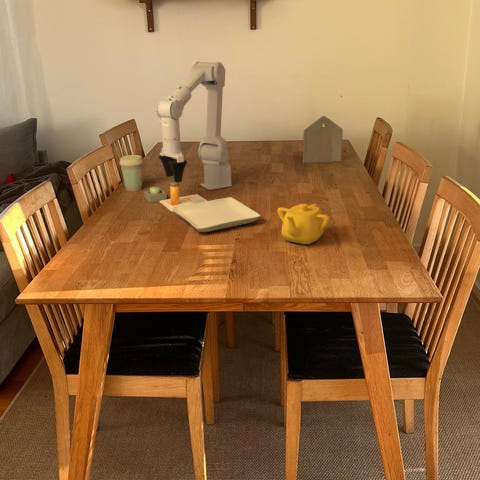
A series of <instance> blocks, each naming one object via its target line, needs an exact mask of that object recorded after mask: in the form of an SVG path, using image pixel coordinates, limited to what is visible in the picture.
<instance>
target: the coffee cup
mask: <svg viewBox="0 0 480 480" xmlns="http://www.w3.org/2000/svg"><path fill="white" fill-rule="evenodd" d="M143 164H144V160H143V157H142V156H141V155H138V154H128V155H123V156H121V157H120V159H119V165H120V169H121V174H122V178H123V183H124V187H125V191H126V192H132V193H133V192H140V191H142V189H143Z"/></svg>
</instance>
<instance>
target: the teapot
mask: <svg viewBox="0 0 480 480" xmlns="http://www.w3.org/2000/svg"><path fill="white" fill-rule="evenodd" d="M284 212H285V214H284ZM277 215H278V217H279V218H280V220H281V221H282V225H281V236H282V238H283V240H285V241H287V242H293V243H296V244H302V245H305V244H309V245H310V244H312V243H314V242H316V241H318V240H319V239H320V238H321V237H322V235H323V233H324V231H325V228H326V227H327V226H328V225H329V223H330V220H331V217H330V216H329V215H327V214H322V210H321V209H320V207H319V206H318V204H316V203H312V204H310V205H308V204H307V203H299V204H297V205H294V206H292V207H291V208H288V207H278V208H277Z"/></svg>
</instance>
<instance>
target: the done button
mask: <svg viewBox="0 0 480 480" xmlns="http://www.w3.org/2000/svg"><path fill="white" fill-rule="evenodd" d="M160 189H161V188H160V186H151V187H149V190H150V194H151V195H153V194H159V193H160Z"/></svg>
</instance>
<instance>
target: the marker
mask: <svg viewBox="0 0 480 480" xmlns="http://www.w3.org/2000/svg"><path fill="white" fill-rule="evenodd" d="M169 189H170V199H171V205H179V204H180V197H181V196H180V182H177V183H176V182H175V180H171V181H170V182H169Z"/></svg>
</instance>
